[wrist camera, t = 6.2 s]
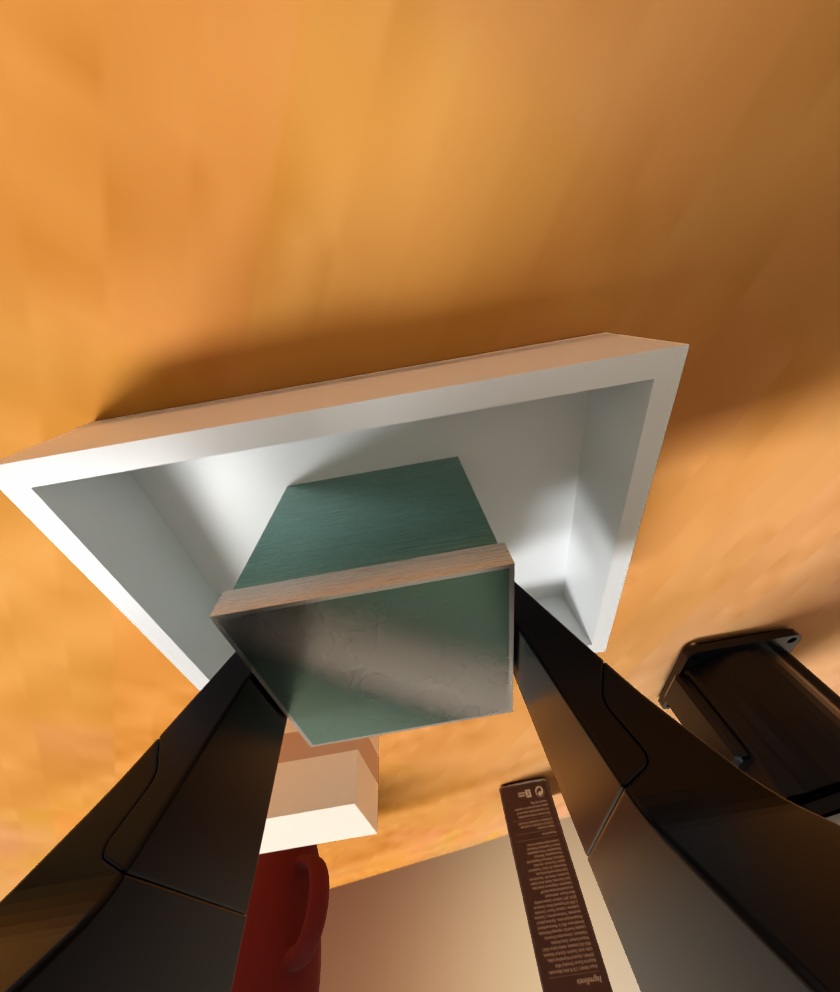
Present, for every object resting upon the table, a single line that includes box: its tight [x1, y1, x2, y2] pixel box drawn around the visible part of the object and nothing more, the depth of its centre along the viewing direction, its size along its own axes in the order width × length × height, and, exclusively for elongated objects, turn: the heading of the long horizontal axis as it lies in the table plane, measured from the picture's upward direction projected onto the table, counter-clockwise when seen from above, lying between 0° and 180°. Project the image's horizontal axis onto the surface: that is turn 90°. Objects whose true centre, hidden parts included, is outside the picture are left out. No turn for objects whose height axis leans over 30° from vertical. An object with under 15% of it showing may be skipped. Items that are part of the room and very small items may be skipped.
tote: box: [0, 332, 690, 691], centre depth 11 cm, size 15×11×3 cm
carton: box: [259, 718, 379, 854], centre depth 17 cm, size 6×5×5 cm
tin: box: [209, 456, 515, 747], centre depth 9 cm, size 6×6×5 cm
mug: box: [231, 844, 329, 992], centre depth 23 cm, size 10×8×10 cm
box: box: [499, 778, 613, 992], centre depth 24 cm, size 6×4×12 cm
